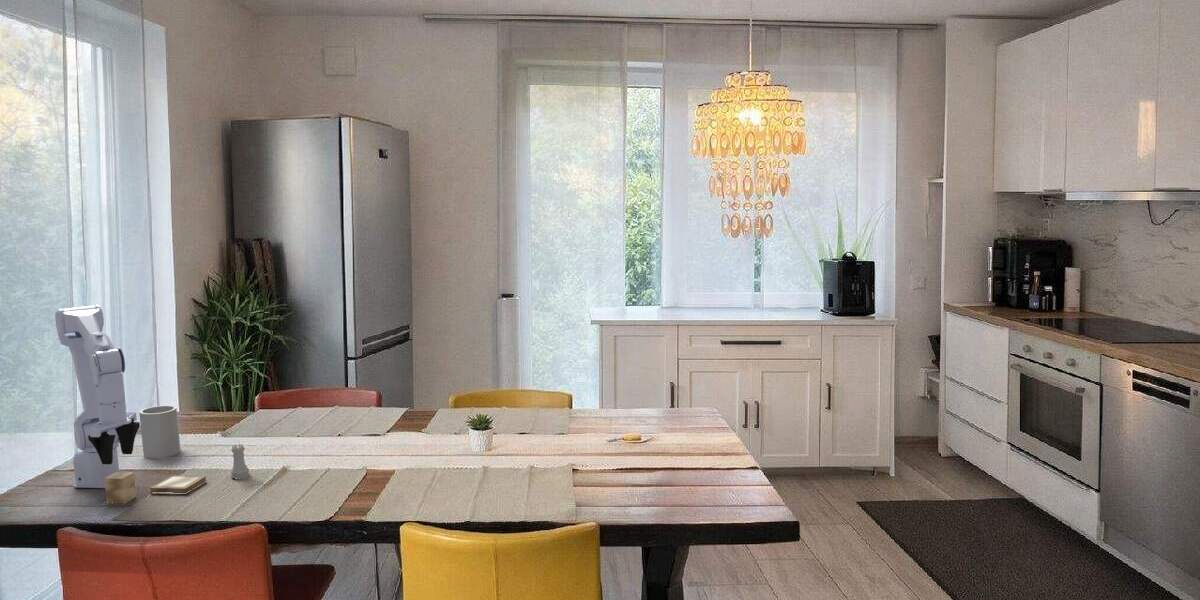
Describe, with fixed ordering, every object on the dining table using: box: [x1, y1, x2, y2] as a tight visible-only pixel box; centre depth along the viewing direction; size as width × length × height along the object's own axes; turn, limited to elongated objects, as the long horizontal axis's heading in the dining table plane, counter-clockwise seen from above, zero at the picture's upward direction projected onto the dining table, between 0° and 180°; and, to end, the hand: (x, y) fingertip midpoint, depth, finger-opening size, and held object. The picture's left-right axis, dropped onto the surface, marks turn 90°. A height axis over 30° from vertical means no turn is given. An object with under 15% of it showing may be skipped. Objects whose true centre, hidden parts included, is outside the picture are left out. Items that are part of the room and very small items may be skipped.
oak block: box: [104, 471, 137, 504], centre depth 235 cm, size 4×4×6 cm
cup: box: [138, 404, 181, 459], centre depth 272 cm, size 9×9×12 cm
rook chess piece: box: [230, 443, 250, 480], centre depth 250 cm, size 4×4×8 cm
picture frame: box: [149, 475, 207, 494], centre depth 243 cm, size 9×9×2 cm
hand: (117, 458), depth 234 cm, fingers open, 7 cm apart
